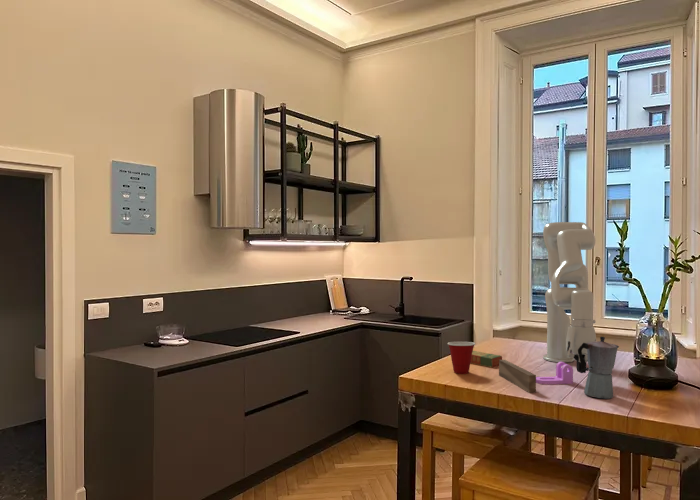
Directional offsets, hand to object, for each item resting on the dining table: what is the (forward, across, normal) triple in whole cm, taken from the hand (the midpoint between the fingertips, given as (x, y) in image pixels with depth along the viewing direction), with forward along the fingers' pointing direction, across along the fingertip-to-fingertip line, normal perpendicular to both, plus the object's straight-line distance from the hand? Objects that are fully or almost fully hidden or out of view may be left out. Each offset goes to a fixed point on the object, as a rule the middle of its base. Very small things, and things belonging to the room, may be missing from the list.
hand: (581, 372), depth 201 cm
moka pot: (+3, +6, +19) cm, 20 cm away
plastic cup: (+3, +40, -19) cm, 44 cm away
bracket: (+4, +12, 0) cm, 12 cm away
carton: (+4, +26, -33) cm, 42 cm away
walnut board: (+3, +26, 0) cm, 26 cm away
